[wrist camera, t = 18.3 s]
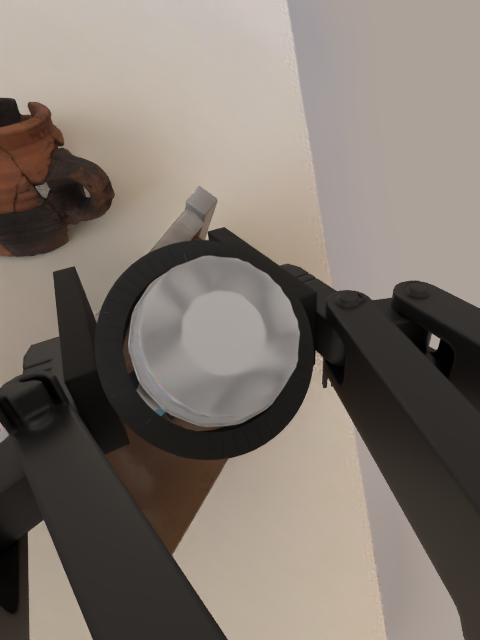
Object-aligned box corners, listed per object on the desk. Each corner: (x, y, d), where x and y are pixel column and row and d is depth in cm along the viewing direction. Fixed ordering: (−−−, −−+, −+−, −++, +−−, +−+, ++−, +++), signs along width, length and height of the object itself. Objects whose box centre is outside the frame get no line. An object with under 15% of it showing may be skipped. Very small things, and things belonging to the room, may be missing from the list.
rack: (37, 452, 24) (-55, 485, 13) (179, 269, 29) (199, 184, 18) (152, 525, 24) (156, 616, 13) (271, 333, 30) (341, 287, 19)
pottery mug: (-60, 257, 26) (-146, 133, 20) (13, 193, 32) (-34, 85, 26) (106, 276, 25) (71, 154, 19) (146, 207, 31) (130, 99, 25)
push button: (197, 290, 19) (270, 159, 9) (264, 370, 18) (403, 318, 9) (83, 374, 16) (29, 307, 7) (161, 467, 16) (212, 529, 7)
